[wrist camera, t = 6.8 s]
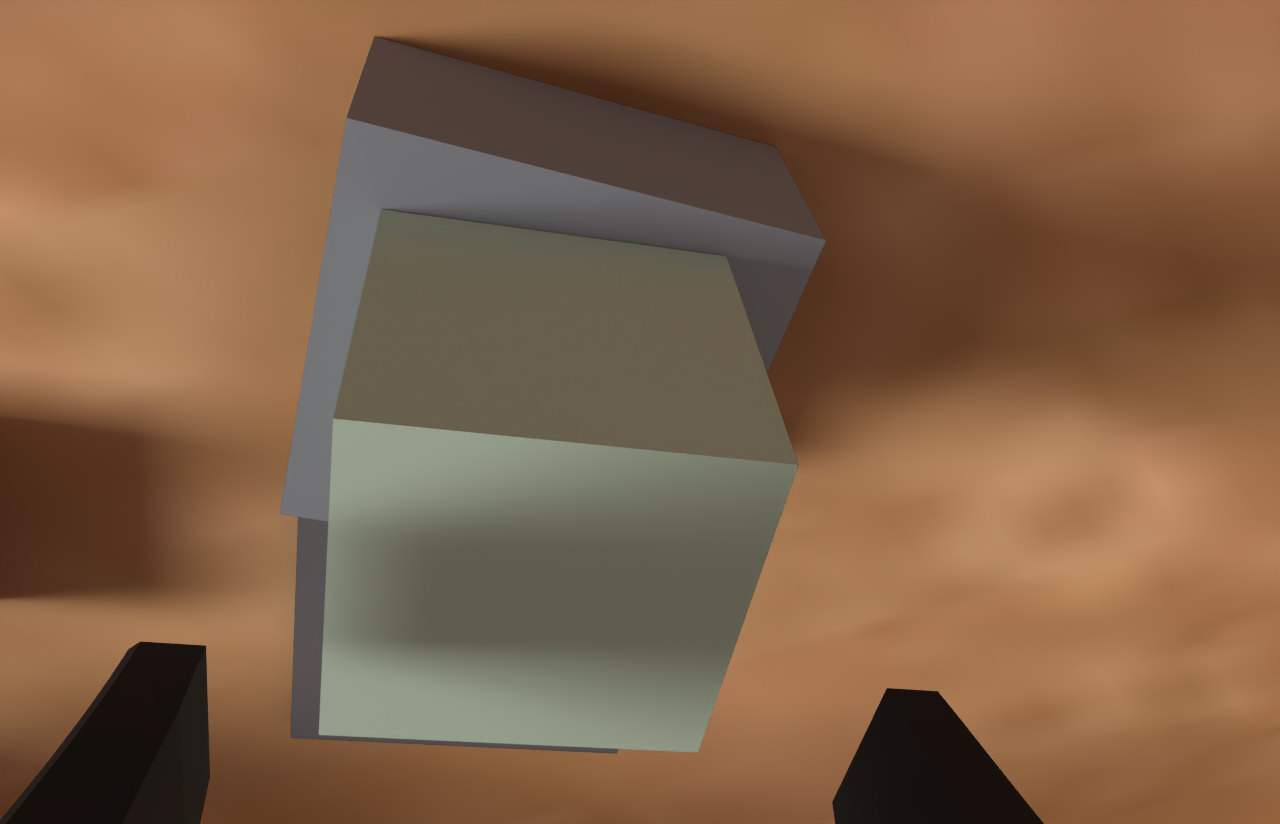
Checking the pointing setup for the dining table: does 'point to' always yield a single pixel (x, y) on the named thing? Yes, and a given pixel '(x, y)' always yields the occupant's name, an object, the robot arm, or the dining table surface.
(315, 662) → the grey square plate
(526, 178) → the slate base
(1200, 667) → the dining table surface
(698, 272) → the sage block
